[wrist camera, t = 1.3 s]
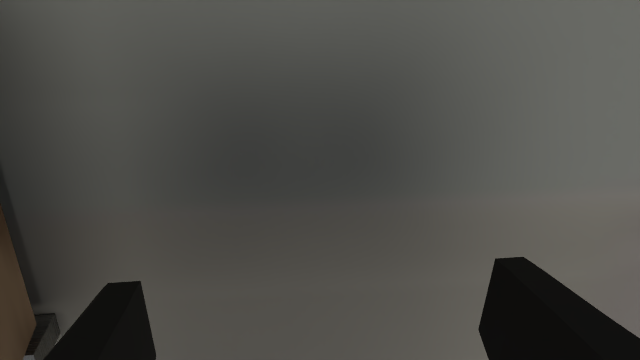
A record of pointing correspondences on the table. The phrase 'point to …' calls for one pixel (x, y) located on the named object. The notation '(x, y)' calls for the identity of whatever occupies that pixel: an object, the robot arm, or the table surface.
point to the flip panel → (13, 301)
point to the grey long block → (42, 337)
